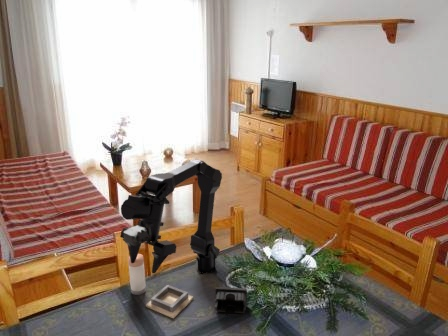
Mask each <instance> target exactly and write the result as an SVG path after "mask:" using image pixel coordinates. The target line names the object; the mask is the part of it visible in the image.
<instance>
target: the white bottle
mask: <svg viewBox="0 0 448 336" xmlns="http://www.w3.org/2000/svg"><path fill="white" fill-rule="evenodd" d="M127 260H128V261H127V262H128V273H129V281H130V282H129V283H130V293H131V294H132V295H134V296H140V295H143V294H144V293H145V292H146V291H147V286H146V271H145V261H144V260H145V259H144V255H143V254H141V253H138V255H137V258H136V260H135V262H134V263H131V259H130V255H129V256H128V257H127Z"/></svg>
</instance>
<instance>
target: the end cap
mask: <svg viewBox="0 0 448 336" xmlns="http://www.w3.org/2000/svg"><path fill="white" fill-rule="evenodd" d="M214 292H215V300H214V302H215V304H214V305H215V306H214V308H215V315H218V316H231V317H232V316H234V317H244V316H245V314H246V312H245V311H246V309H247V308H246V307H247V304H248V303H247V302H248V301H247V299H248V295H247V294H248V289H247V288H246V287H245V288H244V287H242V288H241V287H227V286H226V287H225V286H216V287H215V291H214Z"/></svg>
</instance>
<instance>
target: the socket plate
mask: <svg viewBox="0 0 448 336" xmlns="http://www.w3.org/2000/svg"><path fill="white" fill-rule="evenodd" d="M193 300H194V295H190V294H189V292H188V291H185V290H183V289H180V288H177V287H175V286H172V285H169V284H166V285H165V286H164V287H163V288H162V289H160V290H159V291H158V292H157V293H155V294H154V295H153V296H152V297H151V298H150V301H148V302H147V303H146V304H145V307H146V308H148V309H151V310H153V311H155V312H157V313H159V314H162V315H164V316H166V317H169V318H171V319H175V318H176V317H177V316H178V315H179V314H180V313H181V312H182V311H183V309H185V308H186V306H188V305H189V304H190V303H191V302H192V301H193Z"/></svg>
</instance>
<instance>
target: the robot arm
mask: <svg viewBox="0 0 448 336" xmlns="http://www.w3.org/2000/svg"><path fill="white" fill-rule="evenodd" d="M195 176H196V177H197V178H196V179H197V180H196V181H197V183H196V184H197V185H198V188H199V191H200V197H199V209H198V221H197V229H196V231H195V233H193V234H192V235H190V244H189V246H190V249H191V250H192V252H193V254H196V256H197V257H196V258H195V267H196V270H197V271H198V272H199V274H200V275H205V274H210V273H215V272H217V271H218V268H217V267H216V259H218V256H219V255H220V248H218V247H217V246H215V238H214V237H215V236H214V235H213V233H212V232H213V231H212V226H213V225H212V223H213V214H214V205H215V197H216V196H215V194H216V192H217V191H218V189H219V188H220V186H221V182H222V180H223V179H222V178H223V175H222V172H221V170H220V169H217V168H214V167H213V166H211V165H209V164H208V163H206V161H204V160H200V159H197V158H193V159H190V160H189V161H188V162H185V163H184V164H183V165H181V166H178V167H176V168H174V169H172V170H170V171H168V172H165V173H164V172H163V173H156V174H151V175H149V176H148V177H147V178H146V180H145V182H144V183H143V184H142V185H141V187H140V188H139V190H138V191H137V192H136V193H135V195H133V194H128V197H127V199H125V200H124V201H123V203H122V204H121V207H120V213H121V216H122V217H123V219H125V220H127V221H129V220H138V221H137V224H136V225H134V226H131V227H125V228H124V227H123V228H122V230H121V232H120V236H119V237H120V238H122V241H123V242H124V243H125V244H126V245H127V248H128V251H129V256H130V259H131V263H134V262H135V260H136V258H137V255H138V254H139V251H140V249H141V246H142V244H144V243H145V244H148V245H150V246H152V249H153V251H152V252H151V253H152V256H153V260H152V261H153V262H152V267H151V273H152V274H155V273H156V272H157V271H158V270H159V268H160V267H161V265H162V264H163V263H164V262H165V260H166V259H167V258H168V256H171V255H173V254H176V252H177V244H176V243H175V242H172V241H170V240H167V239H166V240H161V239H162V235H160V230H161V227H163V226H164V225H165V224H164V222H163V221H162V219H163V215H164V214H163V212H164V209H165V208H164V207H165V205H169V204H170V200H169V199H168V196H170V195H171V194H172V193H173V192H174V191H175V188H176V187H177V186H178V185H179V184H182V183H184V182H185V181H187V180H189V179H191V178H193V177H195Z"/></svg>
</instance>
